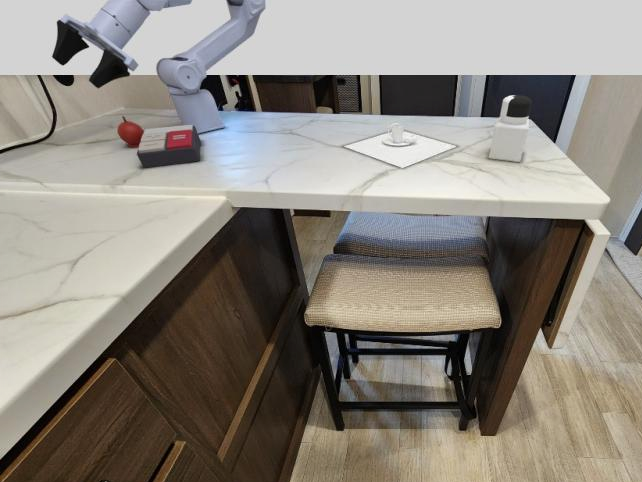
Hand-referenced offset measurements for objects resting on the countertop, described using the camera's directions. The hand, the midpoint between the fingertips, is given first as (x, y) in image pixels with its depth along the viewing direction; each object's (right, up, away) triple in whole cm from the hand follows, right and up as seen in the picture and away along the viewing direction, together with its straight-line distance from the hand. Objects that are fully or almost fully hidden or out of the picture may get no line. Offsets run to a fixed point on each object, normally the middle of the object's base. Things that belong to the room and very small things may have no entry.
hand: (75, 73), depth 68 cm
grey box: (+15, -13, +8) cm, 22 cm away
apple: (+3, -9, +12) cm, 16 cm away
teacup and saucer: (+68, -9, +14) cm, 69 cm away
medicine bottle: (+92, -13, +10) cm, 94 cm away
